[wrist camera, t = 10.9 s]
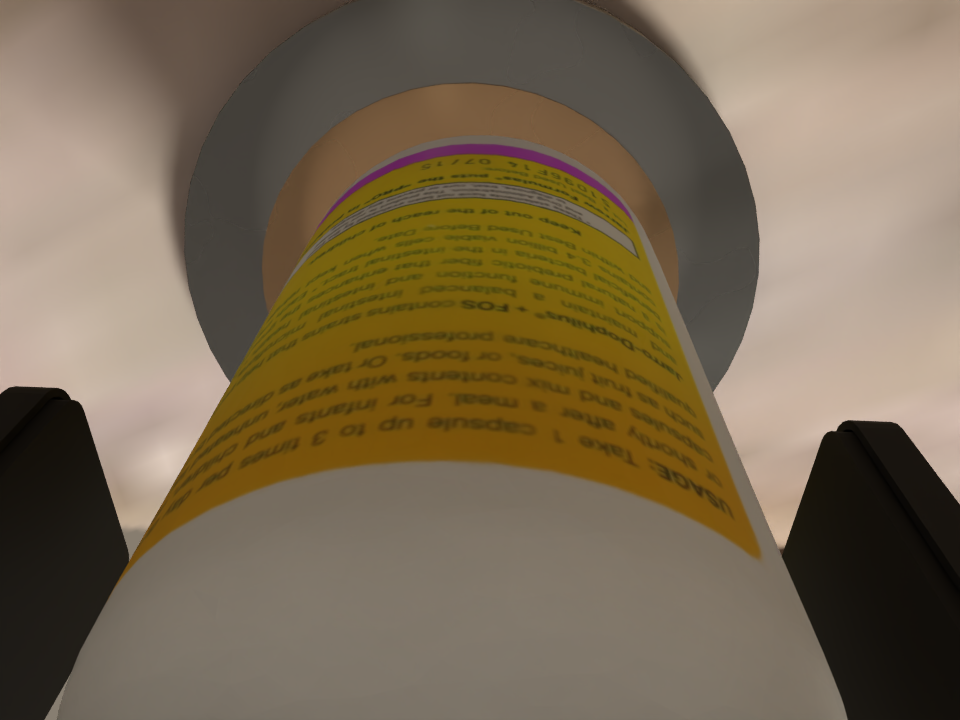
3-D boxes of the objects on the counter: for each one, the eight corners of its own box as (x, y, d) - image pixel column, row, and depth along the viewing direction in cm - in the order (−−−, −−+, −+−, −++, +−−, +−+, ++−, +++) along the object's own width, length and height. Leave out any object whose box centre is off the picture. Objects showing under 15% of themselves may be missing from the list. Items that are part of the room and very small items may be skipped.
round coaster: (813, -12, 12) (834, -7, 11) (692, 493, 18) (700, 520, 17) (146, -35, 12) (121, -31, 11) (241, 474, 18) (229, 499, 17)
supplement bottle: (241, 216, 13) (-899, 1550, 3) (582, 56, 12) (1466, 1836, 1) (410, 473, 17) (226, 1569, 6) (697, 375, 15) (1214, 1643, 4)
